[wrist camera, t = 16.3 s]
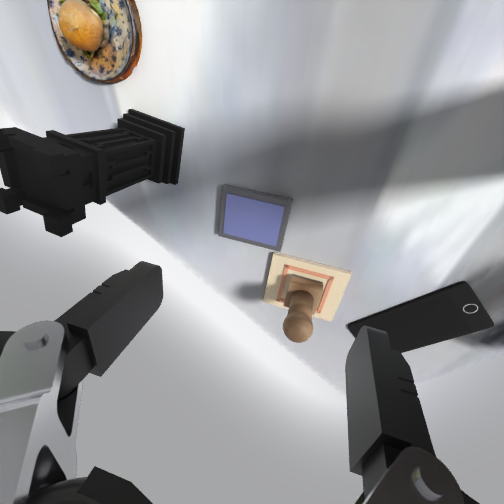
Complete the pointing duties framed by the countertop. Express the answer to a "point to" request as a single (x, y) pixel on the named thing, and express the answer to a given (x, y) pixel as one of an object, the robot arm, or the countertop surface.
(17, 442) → the robot arm
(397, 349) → the cell phone
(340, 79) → the countertop surface
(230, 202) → the ink pad
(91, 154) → the chess piece
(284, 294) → the board
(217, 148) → the countertop surface
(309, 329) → the stamp
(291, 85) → the countertop surface
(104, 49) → the burger
